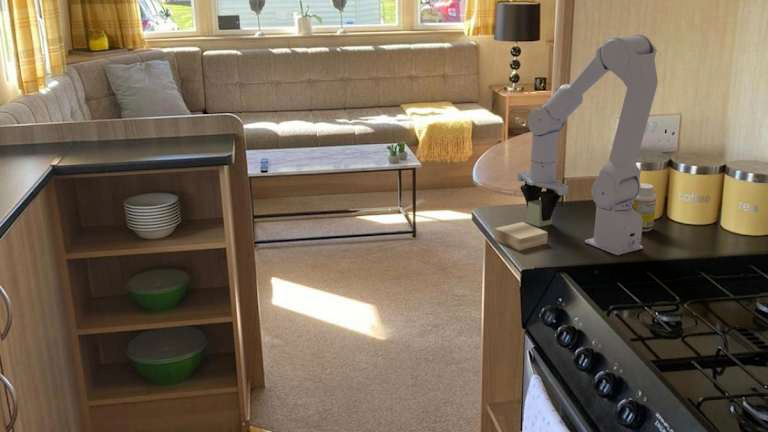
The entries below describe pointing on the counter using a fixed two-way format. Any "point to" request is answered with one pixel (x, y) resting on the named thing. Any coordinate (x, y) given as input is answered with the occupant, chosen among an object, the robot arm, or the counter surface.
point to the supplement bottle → (645, 205)
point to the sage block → (536, 214)
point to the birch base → (520, 236)
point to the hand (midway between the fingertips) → (539, 217)
